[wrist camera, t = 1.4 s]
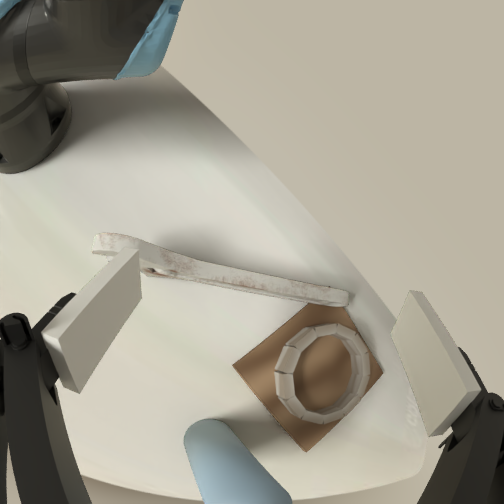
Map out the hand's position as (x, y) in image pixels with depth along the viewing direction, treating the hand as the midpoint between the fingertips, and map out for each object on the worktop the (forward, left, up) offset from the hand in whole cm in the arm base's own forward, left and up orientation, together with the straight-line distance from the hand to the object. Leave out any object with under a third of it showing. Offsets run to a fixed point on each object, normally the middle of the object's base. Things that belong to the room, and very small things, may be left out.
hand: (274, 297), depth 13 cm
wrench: (-1, +5, -21) cm, 21 cm away
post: (+13, -9, -21) cm, 26 cm away
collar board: (+15, +7, -21) cm, 27 cm away
